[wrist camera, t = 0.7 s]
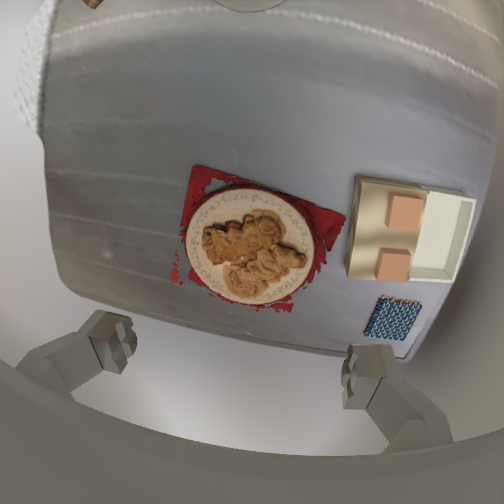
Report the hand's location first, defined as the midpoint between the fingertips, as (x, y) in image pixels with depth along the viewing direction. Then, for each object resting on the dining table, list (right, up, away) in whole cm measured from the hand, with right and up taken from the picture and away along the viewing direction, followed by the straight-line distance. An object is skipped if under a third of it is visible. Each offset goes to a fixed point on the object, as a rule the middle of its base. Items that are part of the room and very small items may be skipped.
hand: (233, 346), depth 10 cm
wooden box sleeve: (+23, +8, +36) cm, 43 cm away
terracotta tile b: (+23, +2, +33) cm, 41 cm away
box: (+33, +7, +35) cm, 48 cm away
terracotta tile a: (+23, +10, +29) cm, 39 cm away
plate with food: (0, +4, +43) cm, 43 cm away
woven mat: (+30, -10, +45) cm, 55 cm away
